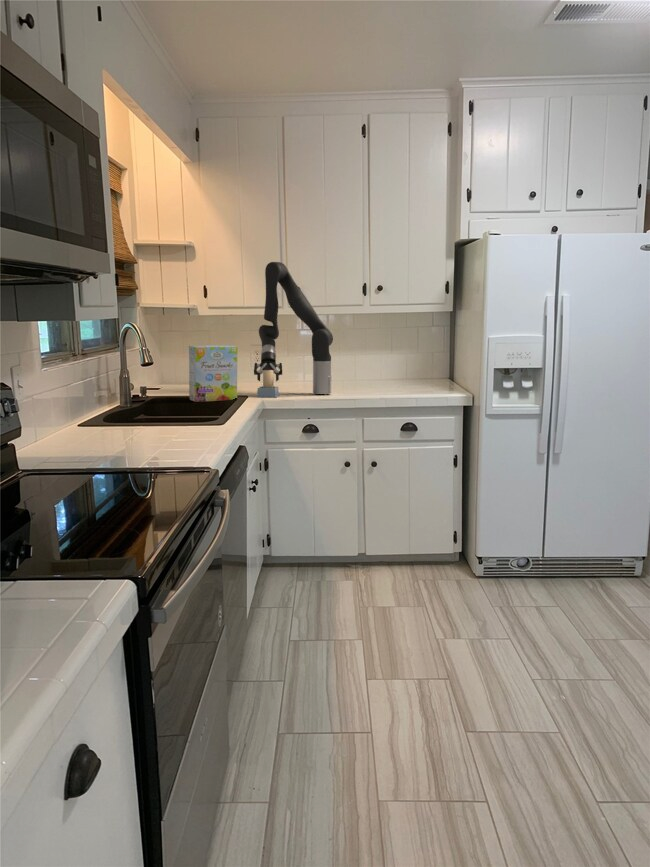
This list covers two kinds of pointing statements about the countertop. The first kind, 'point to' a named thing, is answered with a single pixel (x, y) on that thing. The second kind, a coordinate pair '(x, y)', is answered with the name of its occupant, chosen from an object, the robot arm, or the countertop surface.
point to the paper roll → (268, 379)
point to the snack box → (212, 373)
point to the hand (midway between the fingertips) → (268, 380)
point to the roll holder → (268, 392)
